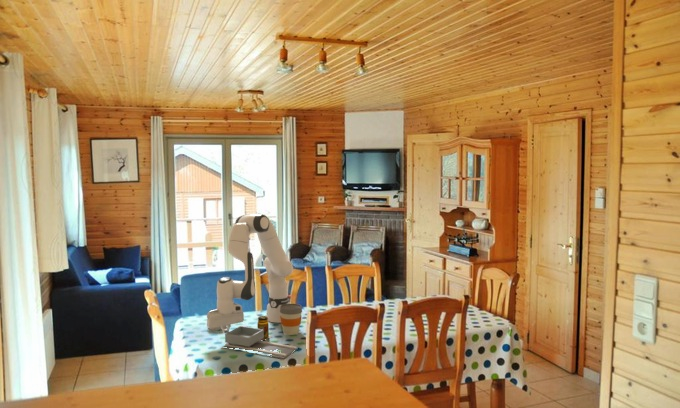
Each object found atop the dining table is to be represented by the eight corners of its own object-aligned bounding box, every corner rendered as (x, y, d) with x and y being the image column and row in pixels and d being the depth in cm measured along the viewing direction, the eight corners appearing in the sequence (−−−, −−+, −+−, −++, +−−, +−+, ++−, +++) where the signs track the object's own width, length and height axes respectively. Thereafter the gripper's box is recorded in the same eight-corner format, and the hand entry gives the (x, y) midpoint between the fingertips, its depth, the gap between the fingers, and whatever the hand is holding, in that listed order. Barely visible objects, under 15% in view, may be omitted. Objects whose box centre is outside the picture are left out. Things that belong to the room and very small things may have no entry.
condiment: (264, 341, 306) (264, 319, 304) (251, 338, 310) (251, 317, 308) (272, 337, 312) (272, 316, 311) (259, 334, 316) (259, 313, 315)
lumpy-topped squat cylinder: (208, 330, 322) (207, 315, 322) (208, 323, 335) (208, 308, 334) (226, 329, 324) (226, 314, 323) (226, 322, 337) (226, 308, 336)
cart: (240, 335, 308) (240, 325, 308) (263, 339, 302) (263, 329, 302) (225, 344, 295) (225, 334, 294) (248, 348, 289) (248, 338, 288)
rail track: (240, 338, 309) (240, 335, 309) (298, 348, 295) (298, 345, 295) (223, 348, 295) (223, 345, 295) (283, 359, 280) (283, 356, 280)
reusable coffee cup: (298, 336, 313) (298, 310, 311) (277, 335, 315) (276, 309, 314) (304, 329, 325) (304, 304, 324) (283, 327, 328) (283, 302, 326)
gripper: (209, 312, 293) (209, 338, 295) (245, 306, 305) (245, 330, 306) (204, 309, 298) (205, 334, 300) (239, 303, 310) (240, 327, 312)
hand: (225, 332), depth 303 cm, fingers closed
